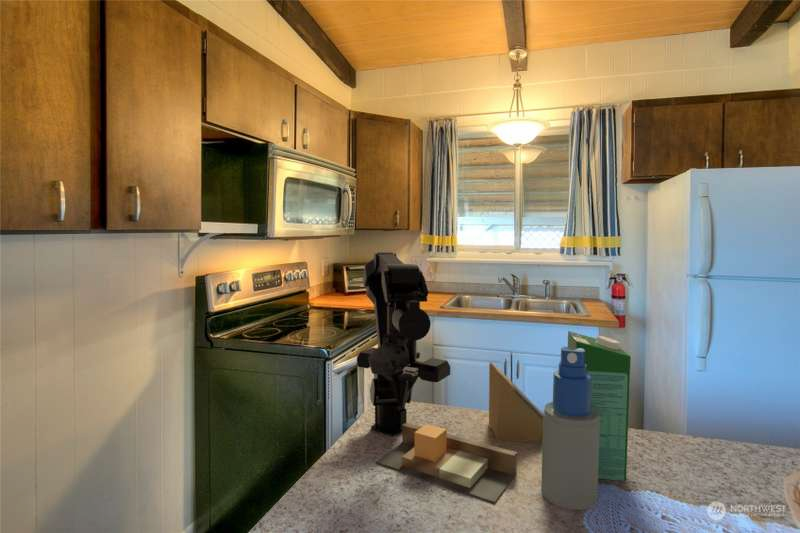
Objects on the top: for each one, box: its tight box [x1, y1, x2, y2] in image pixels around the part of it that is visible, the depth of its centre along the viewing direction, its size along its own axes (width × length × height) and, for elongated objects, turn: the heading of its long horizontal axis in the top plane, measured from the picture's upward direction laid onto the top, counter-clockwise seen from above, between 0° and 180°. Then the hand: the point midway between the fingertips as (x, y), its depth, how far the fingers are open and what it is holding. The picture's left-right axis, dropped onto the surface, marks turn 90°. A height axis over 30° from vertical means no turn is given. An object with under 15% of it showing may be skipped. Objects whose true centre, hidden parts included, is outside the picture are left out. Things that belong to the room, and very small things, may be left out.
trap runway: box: [375, 422, 518, 504], centre depth 83 cm, size 24×11×4 cm, turn 57°
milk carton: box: [567, 330, 632, 482], centre depth 83 cm, size 9×9×25 cm
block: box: [415, 423, 448, 462], centre depth 85 cm, size 4×4×4 cm
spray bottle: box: [540, 346, 600, 511], centre depth 74 cm, size 9×9×25 cm
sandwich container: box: [488, 361, 543, 441], centre depth 98 cm, size 9×15×15 cm, turn 91°
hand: (401, 406), depth 88 cm, fingers closed
